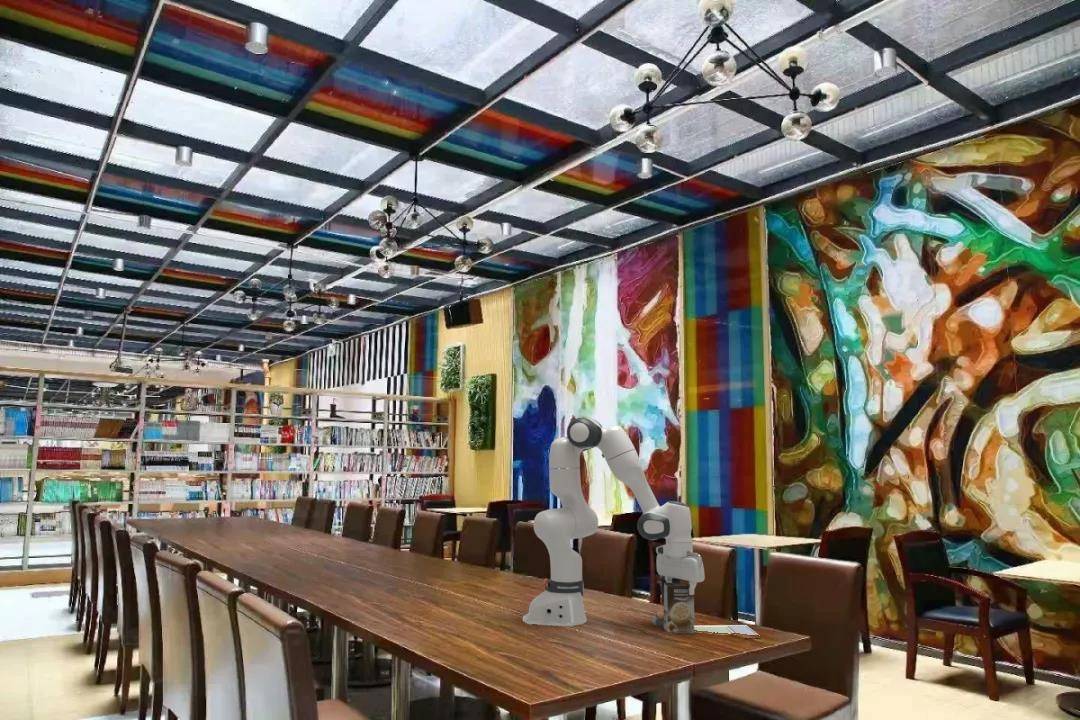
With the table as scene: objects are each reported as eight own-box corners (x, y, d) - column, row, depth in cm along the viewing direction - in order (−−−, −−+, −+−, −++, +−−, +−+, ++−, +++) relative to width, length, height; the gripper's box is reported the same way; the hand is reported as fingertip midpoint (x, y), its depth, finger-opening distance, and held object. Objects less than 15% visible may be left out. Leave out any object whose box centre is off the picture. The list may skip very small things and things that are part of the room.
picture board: (700, 639, 238) (700, 637, 238) (688, 627, 253) (688, 625, 253) (761, 638, 239) (761, 636, 239) (746, 626, 254) (746, 624, 254)
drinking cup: (683, 612, 274) (682, 557, 276) (678, 617, 267) (677, 560, 269) (663, 610, 277) (662, 556, 279) (658, 614, 270) (657, 559, 272)
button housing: (654, 627, 252) (654, 619, 252) (651, 623, 258) (651, 615, 258) (672, 627, 252) (672, 619, 252) (668, 623, 258) (668, 615, 258)
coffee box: (667, 636, 242) (666, 586, 243) (663, 631, 248) (662, 582, 250) (695, 636, 242) (694, 586, 243) (690, 631, 248) (689, 582, 250)
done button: (658, 620, 254) (658, 613, 254) (656, 618, 257) (656, 611, 257) (666, 620, 254) (666, 613, 254) (665, 618, 257) (664, 611, 257)
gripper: (708, 552, 241) (709, 596, 239) (666, 546, 258) (668, 586, 256) (693, 554, 237) (695, 598, 236) (652, 547, 255) (654, 588, 253)
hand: (680, 592), depth 246 cm, fingers open, 8 cm apart
